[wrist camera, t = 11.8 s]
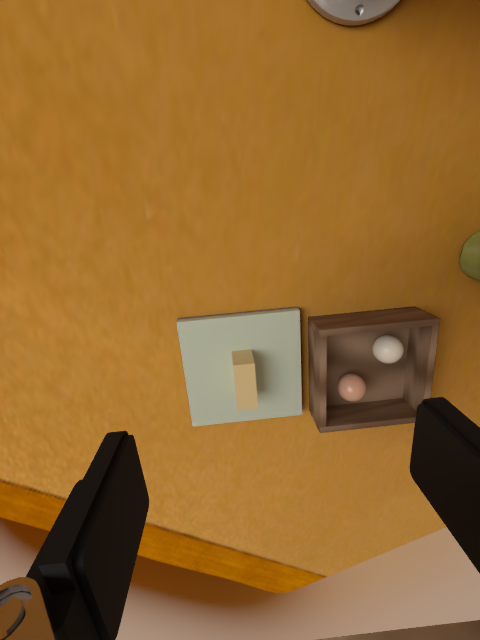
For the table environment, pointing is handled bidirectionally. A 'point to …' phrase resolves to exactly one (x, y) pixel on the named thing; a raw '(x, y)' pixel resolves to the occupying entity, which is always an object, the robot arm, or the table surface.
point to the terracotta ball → (351, 387)
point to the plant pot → (471, 257)
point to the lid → (242, 366)
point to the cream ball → (387, 349)
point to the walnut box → (370, 367)
